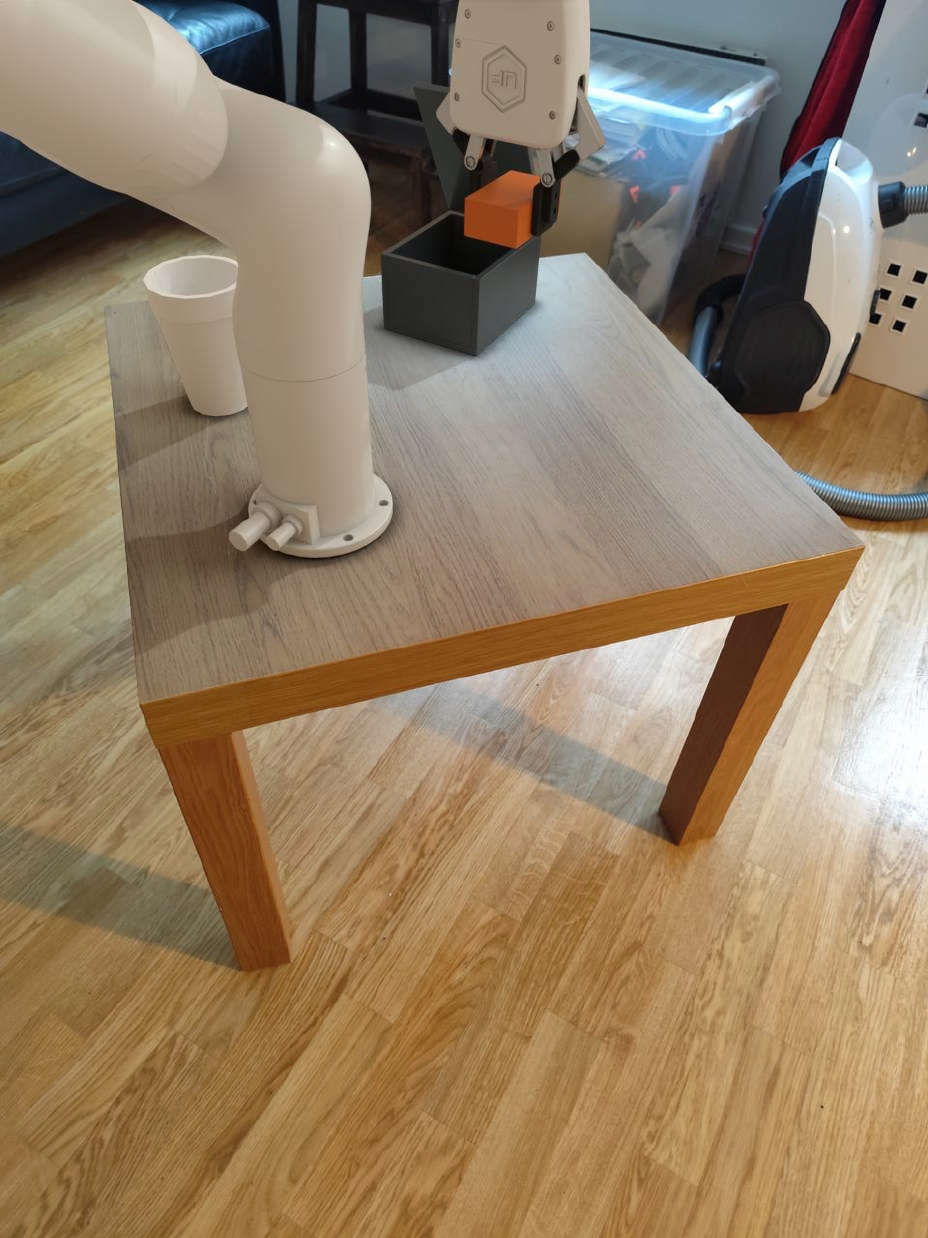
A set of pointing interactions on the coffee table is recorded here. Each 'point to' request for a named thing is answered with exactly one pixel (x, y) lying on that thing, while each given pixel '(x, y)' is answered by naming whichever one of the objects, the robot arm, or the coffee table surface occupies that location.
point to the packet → (502, 210)
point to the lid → (451, 158)
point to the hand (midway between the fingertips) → (512, 221)
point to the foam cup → (200, 328)
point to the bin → (456, 285)
